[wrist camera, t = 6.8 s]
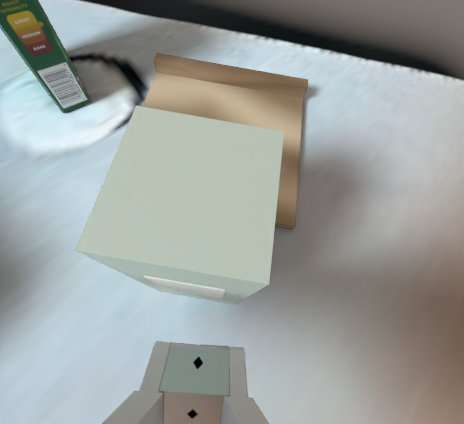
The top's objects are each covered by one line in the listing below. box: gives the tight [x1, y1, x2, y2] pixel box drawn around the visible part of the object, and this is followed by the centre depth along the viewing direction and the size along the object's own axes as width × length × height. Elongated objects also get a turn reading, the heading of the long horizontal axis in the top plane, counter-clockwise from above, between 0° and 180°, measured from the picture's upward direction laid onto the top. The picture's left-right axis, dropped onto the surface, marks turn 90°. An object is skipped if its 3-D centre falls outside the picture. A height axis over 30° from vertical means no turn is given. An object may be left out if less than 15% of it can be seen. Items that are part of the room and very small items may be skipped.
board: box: [143, 53, 308, 229], centre depth 21 cm, size 14×14×2 cm
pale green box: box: [75, 106, 284, 305], centre depth 12 cm, size 5×5×11 cm
